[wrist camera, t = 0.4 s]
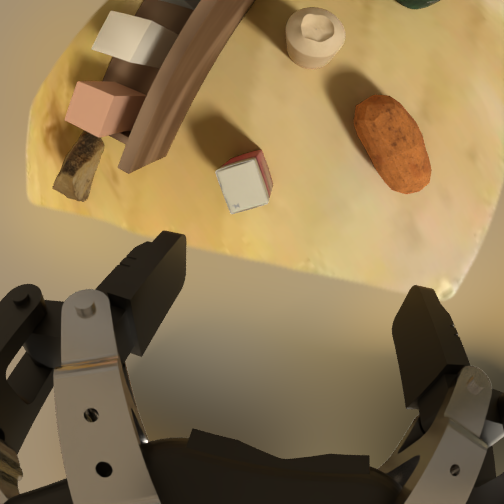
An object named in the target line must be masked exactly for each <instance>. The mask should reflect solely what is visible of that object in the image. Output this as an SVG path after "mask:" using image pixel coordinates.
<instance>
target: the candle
mask: <svg viewBox="0 0 504 504" xmlns="http://www.w3.org/2000/svg"><path fill="white" fill-rule="evenodd" d="M344 41H345V29H344V26H343V24H342V23H341V21H340V20H339V19H338V18H337V17H336V16H335V15H334V14H332V13H331V12H329V11H327V10H325V9H321V8H315V7H309V8H303V9H300V10H298V11H296V12H295V13H294V14H292V15H291V16H290V18H289V19H288V21H287V24H286V44H287V52H288V55H289V57H290V58H291V59H292V61H293V62H294V63H296V64H297V65H299V66H301V67H303V68H307V69H318V68H321V67H323V66H325V65H326V64H328V63H329V62H330V61H331V59H332V58H333V57H334V56H335V55H336V53H337V52H338V51H339V50H340V49H341V47H342V46H343V44H344Z"/></svg>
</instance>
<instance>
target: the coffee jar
mask: <svg viewBox="0 0 504 504" xmlns="http://www.w3.org/2000/svg"><path fill="white" fill-rule="evenodd" d="M397 1H398V2H399V3H400V4H402V5H403V6H405V7H407V8H410V9H421V8H424V7H428V6H430V5H432V4H435V3H436V2H438V1H440V0H397Z"/></svg>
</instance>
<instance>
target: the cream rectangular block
mask: <svg viewBox="0 0 504 504" xmlns="http://www.w3.org/2000/svg"><path fill="white" fill-rule="evenodd" d="M177 37H178V34H176V33H174V32H172V31H170V30H169V29H167V28H165V27H163V26H161V25H159V24H157V23H155V22H153V21H151V20H147V19H144V18H140V17H136V16H132V15H128V14H124V13H120V12H115V11H110V13H109V15H108V17H107V18H106V20H105V22H104V24H103V26H102V28H101V30H100V32H99V34H98V36H97V38H96V40H95V42H94V44H93V46H92V50H95V51H98V52H101V53H104V54H108V55H111V56H113V57H116V58H119V59H122V60H125V61H128V62H131V63H136V64H141V65H146V66H151V67H156V68H161V66H162V64H163V62H164V60H165V58H166V56H167V55H168V53H169V51H170V49H171V47H172V46H173V44H174V42H175V40H176V39H177Z"/></svg>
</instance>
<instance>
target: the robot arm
mask: <svg viewBox="0 0 504 504" xmlns="http://www.w3.org/2000/svg"><path fill="white" fill-rule="evenodd" d="M185 276H186V236H185V235H184V234H179V233H174V232H169V231H162V232H161V233H160V234H159V235H158V236H157V237H156V239H155V240H154V241H153V242H145V243H143V244H141V245H139V246H137V247H135V248H134V249H133V250H132V251H131V252H130V253H129V254H128V255H127V257H126V258H124V259H123V260H122V261H121V262H120V265H117V267H115V269H114V270H113V271H112V272H111V273H110V274H109V275H108V276H107V277H106V278H105V279H104V280H103V281H102V283H101V284H100V285H99V286H98V287H97V288H96V289H95V290H93V289H86V290H81V291H78V292H75V293H74V294H72V295H70V296H69V297H68V298H67V299H66V300H65V302H61V301H49V300H44V298H43V295H42V293H41V290H40V289H39V288H38V287H37V286H35V285H33V284H24V285H21V286H18V287H16V288H14V289H12V290H11V291H10V292H9V293H8V294H7V295H6V296H5V297H4V298H3V299H2V300H1V301H0V504H504V472H503V473H502V474H501V475H500V476H497V477H496V472H495V462H494V455H493V447H492V445H493V444H494V443H496V442H497V441H498V440H500V439H501V438H502V437H504V393H503V392H500V391H497V390H494V389H492V386H491V382H490V380H489V378H488V376H487V375H486V374H485V373H484V372H483V371H482V370H481V369H479V368H478V367H475V366H470V363H469V361H468V358H467V355H466V353H465V350H464V347H463V345H462V342H461V340H460V337H458V333H457V330H456V328H454V323H453V321H452V319H451V316H450V315H449V313H448V312H447V311H446V310H445V309H444V307H443V306H442V305H441V304H440V302H439V299H438V297H437V295H436V293H435V291H434V290H433V289H431V288H426V287H422V286H417V285H414V286H412V287H411V289H410V291H409V292H408V294H407V296H406V298H405V300H404V302H403V304H402V306H401V307H400V309H399V311H398V313H397V315H396V317H395V319H394V321H393V326H392V335H393V340H394V344H395V349H396V354H397V359H398V364H399V369H400V375H401V380H402V386H403V392H404V398H405V405H406V409H419V413H420V414H419V415H418V416H416V417H415V419H414V420H413V422H412V423H411V425H410V427H409V428H408V430H407V431H406V433H405V435H404V436H403V438H402V439H401V441H400V443H399V444H398V446H397V447H396V448H395V450H394V452H393V453H392V454H391V456H390V457H389V458H388V459H387V460H386V462H385V463H383V464H382V466H380V467H379V468H378V469H376V468H373V467H370V466H369V455H368V456H367V455H340V454H326V455H319V456H312V457H304V458H296V459H281V458H278V457H275V456H273V455H270V454H268V453H266V452H263V451H261V450H259V449H256V448H254V447H252V446H249V445H247V444H245V443H243V442H241V441H239V440H235V439H231V438H226V437H223V436H219V435H214V434H211V433H207V432H204V431H200V430H197V429H192V432H191V435H190V437H189V438H166V439H160V440H155V441H150V442H149V440H148V437H147V434H146V431H145V429H144V426H143V423H142V421H141V418H140V415H139V411H138V408H137V405H136V401H135V398H134V394H133V390H132V386H131V382H130V378H129V375H128V370H127V366H126V362H125V361H126V359H127V357H128V355H129V354H130V353H132V354H135V355H138V356H141V357H142V356H143V354H144V352H145V350H146V348H147V347H148V345H149V343H150V342H151V340H152V338H153V336H154V335H155V333H156V331H157V329H158V327H159V326H160V324H161V323H162V321H163V319H164V318H165V316H166V314H167V313H168V311H169V309H170V308H171V306H172V304H173V302H174V301H175V299H176V297H177V296H178V294H179V293H180V291H181V289H182V287H183V284H184V281H185ZM22 346H23V347H24V348H25V350H26V353H25V354H24V356H23V357H22V358H21V360H20V361H19V363H18V364H17V366H16V367H15V369H14V370H13V372H12V373H11V375H10V376H9V378H8V379H7V380H6V370H7V367H8V365H9V364H10V362H11V361H12V359H13V358H14V357H15V355H16V354H17V352H18V351H19V349H20V348H21V347H22ZM53 386H54V397H55V409H56V418H57V427H58V434H59V441H60V447H61V452H62V458H63V463H64V468H65V472H66V477H67V478H66V479H63V480H60V481H58V482H55V483H52V484H50V485H47V486H44V487H41V488H38V489H35V490H32V491H29V492H26V493H22V494H20V493H19V490H18V481H20V480H21V479H22V477H23V472H22V469H21V468H20V463H19V459H18V456H17V454H18V452H19V450H20V448H21V446H22V444H23V442H24V439H25V438H26V436H27V434H28V432H29V430H30V428H31V426H32V424H33V422H34V420H35V418H36V416H37V415H38V413H39V411H40V409H41V407H42V406H43V404H44V402H45V400H46V398H47V397H48V395H49V393H50V391H51V390H52V388H53Z"/></svg>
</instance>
